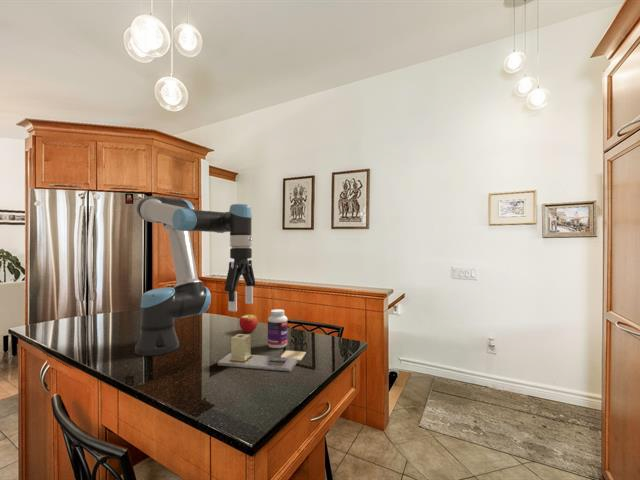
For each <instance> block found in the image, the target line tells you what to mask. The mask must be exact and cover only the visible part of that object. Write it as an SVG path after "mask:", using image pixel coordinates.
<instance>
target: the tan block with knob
mask: <svg viewBox="0 0 640 480" xmlns="http://www.w3.org/2000/svg"><path fill="white" fill-rule="evenodd" d="M251 337H252V335H251V334H245V333H244V334H243V333H237V334H235V335H233V336H232V337H231V338H230V339H231V342H230V344H231V345H230V348H231V349H230V351H231V352H230V353H231V362H241V363H246V362H247V361H248V360H249V359H250V358H251V355H252V353H251V352H252V351H251V349H252V345H251V344H252V343H251V342H252V341H251V340H252V338H251Z"/></svg>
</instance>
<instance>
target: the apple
mask: <svg viewBox="0 0 640 480" xmlns="http://www.w3.org/2000/svg"><path fill="white" fill-rule="evenodd" d="M251 311H252V310H250V311H249V313H248V314H245V315H242V316H240V318H239V322H238V323H239V326H240V329H241V330H242V331H243V332H244V333H252V332H254V330H256V328H257V327H258V323H259V322H258V321H259V319H258V317H257V315H254V314H251Z"/></svg>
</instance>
